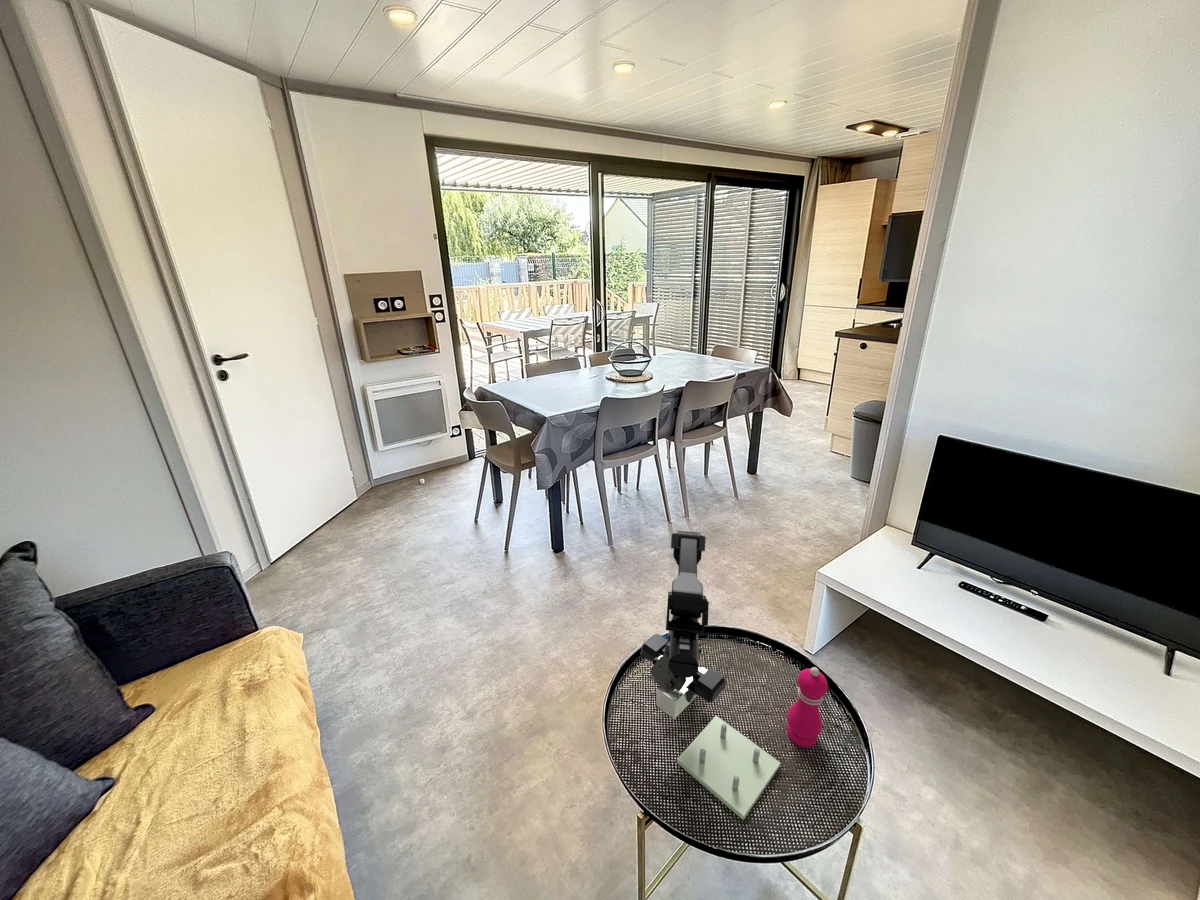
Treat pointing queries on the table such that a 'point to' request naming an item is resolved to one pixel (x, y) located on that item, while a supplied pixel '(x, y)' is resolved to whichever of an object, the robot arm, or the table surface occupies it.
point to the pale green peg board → (729, 766)
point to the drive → (673, 699)
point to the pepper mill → (807, 708)
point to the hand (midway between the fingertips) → (679, 694)
